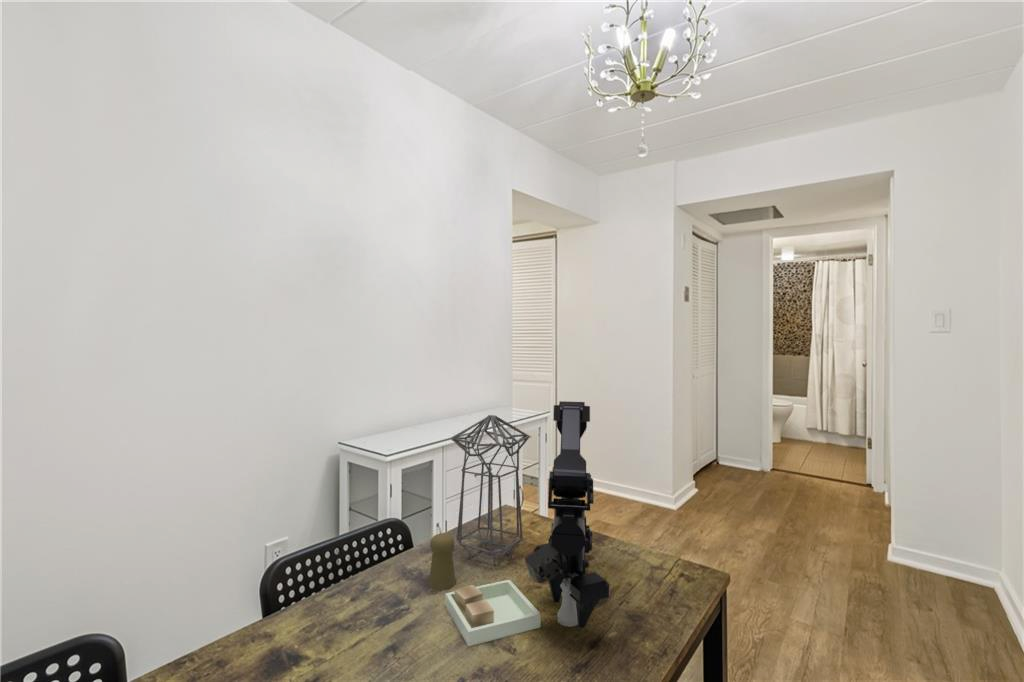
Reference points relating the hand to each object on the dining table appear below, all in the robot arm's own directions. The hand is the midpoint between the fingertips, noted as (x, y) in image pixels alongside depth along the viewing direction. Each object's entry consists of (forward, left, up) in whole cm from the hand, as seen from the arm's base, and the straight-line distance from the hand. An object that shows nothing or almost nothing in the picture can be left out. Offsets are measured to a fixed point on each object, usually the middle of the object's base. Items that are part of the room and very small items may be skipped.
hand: (568, 614), depth 94 cm
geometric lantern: (+3, -32, -2) cm, 32 cm away
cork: (+18, -23, -2) cm, 29 cm away
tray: (+13, -7, -2) cm, 15 cm away
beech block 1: (+17, -10, -1) cm, 19 cm away
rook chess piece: (0, 0, -2) cm, 2 cm away
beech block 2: (+17, -4, -1) cm, 17 cm away
